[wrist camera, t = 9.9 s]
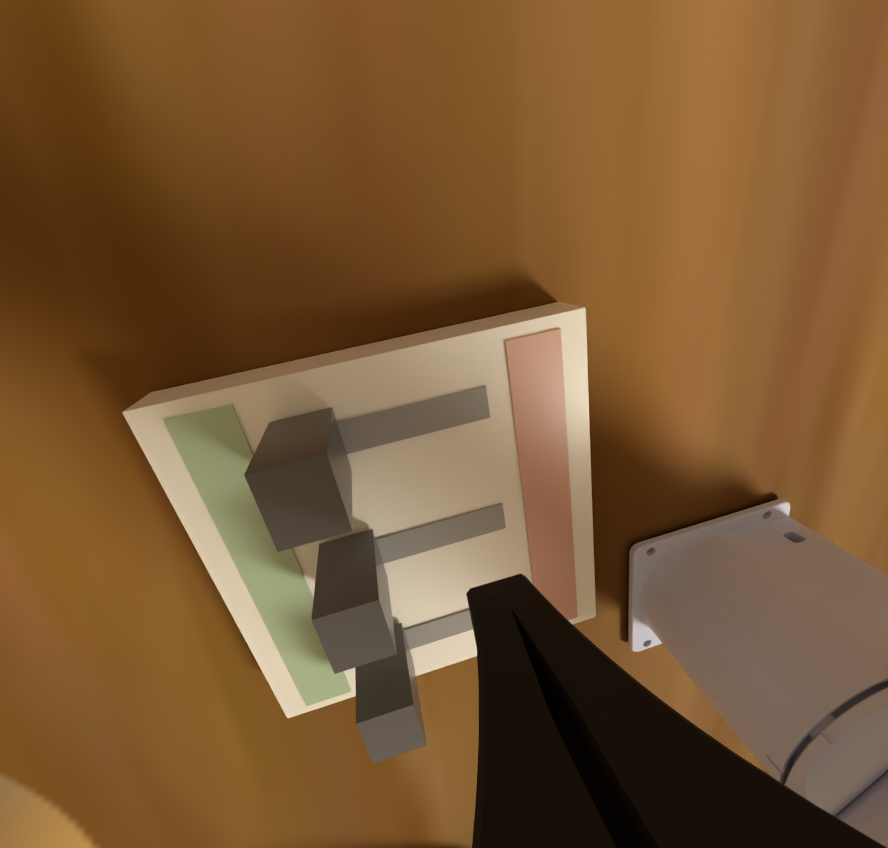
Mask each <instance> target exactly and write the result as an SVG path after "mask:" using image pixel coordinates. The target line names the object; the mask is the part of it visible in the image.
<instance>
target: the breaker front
mask: <svg viewBox="0 0 888 848" xmlns="http://www.w3.org/2000/svg"><path fill="white" fill-rule="evenodd" d="M244 476H245V478H246V481H247V483H248V485H249V488H250V490H251V492H252V494H253V497H254V499H255V501H256V504H257V506H258V508H259V510H260V513H261V515H262V517H263V520H264V522H265V524H266V526H267V529H268V531H269V533H270V536H271V538H272V540H273V542H274V545H275V547H276V549H277V552H280V551H283V550H287V549H290V548H294V547H298V546H301V545H305V544H308V543H312V542H316V541H319V540H323V539H326V538H330V537H334V536H337V535H341V534H344V533H348V532H351V531H353V519H352V470H351V466H350V463H349V460H348V457H347V454H346V450H345V447H344V444H343V441H342V437H341V434H340V431H339V428H338V425H337V421H336V418H335V415H334V412H333V409H332V407H330V408H326V409H322V410H318V411H314V412H310V413H305V414H301V415H297V416H293V417H289V418H284V419H280V420H276V421H272V422H269V424H268V426H267V428H266V430H265V432H264V434H263V436H262V438H261V441H260V443H259V445H258V447H257V449H256V451H255V453H254V455H253V457H252V459H251V461H250V464H249V466H248V468H247V470H246V472H245V474H244Z"/></svg>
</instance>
